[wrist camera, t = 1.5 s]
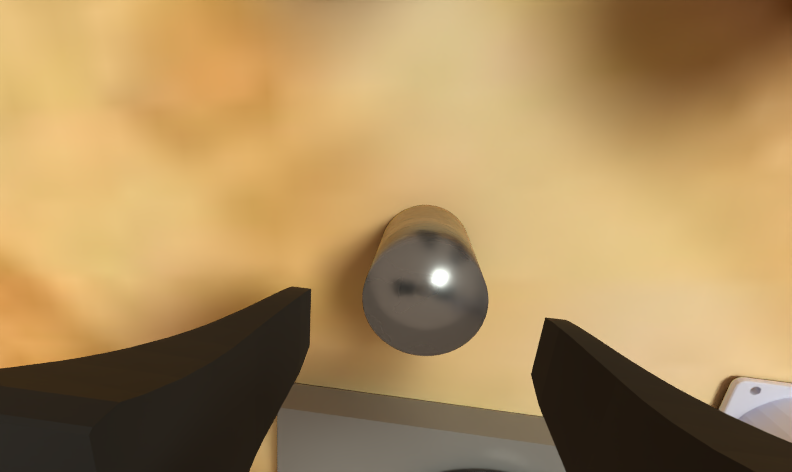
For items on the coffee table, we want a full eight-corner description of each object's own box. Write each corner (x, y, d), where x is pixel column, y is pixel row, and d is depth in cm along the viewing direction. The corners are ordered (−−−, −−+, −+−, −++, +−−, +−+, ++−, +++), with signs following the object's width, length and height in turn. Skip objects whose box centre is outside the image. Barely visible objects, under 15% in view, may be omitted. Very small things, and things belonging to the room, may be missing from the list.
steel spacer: (475, 210, 18) (499, 250, 12) (461, 292, 19) (477, 363, 14) (385, 200, 18) (366, 235, 12) (378, 282, 20) (358, 347, 14)
